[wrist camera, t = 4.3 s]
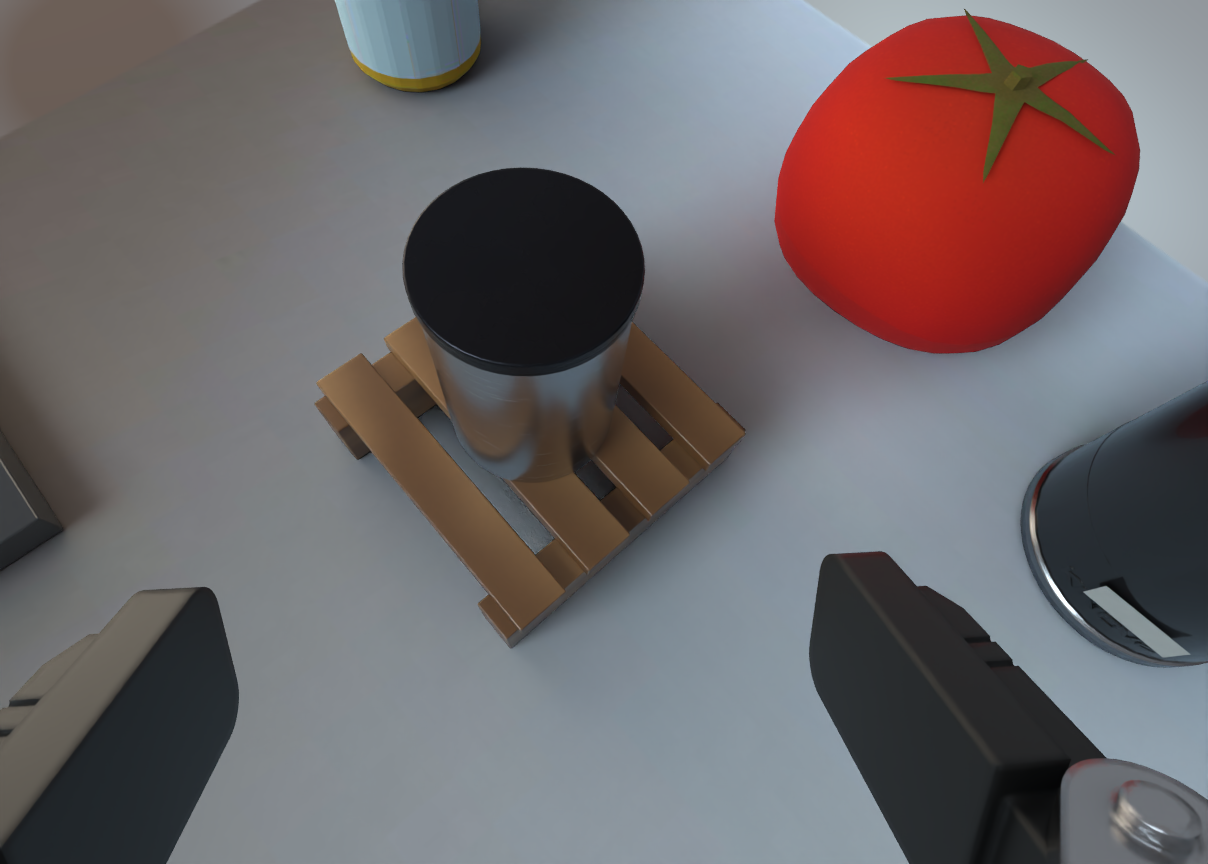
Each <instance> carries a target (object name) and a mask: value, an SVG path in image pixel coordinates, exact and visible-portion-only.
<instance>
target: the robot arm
mask: <svg viewBox="0 0 1208 864" xmlns="http://www.w3.org/2000/svg"><path fill="white" fill-rule="evenodd" d="M1021 534H1022V541H1023V546H1024V551H1025V555H1026V558H1027V561H1028V564H1029V566H1030V569H1031V571H1032V573H1033V576H1034V578H1035V579H1036V581H1037V583H1038V585H1039V587H1040V589H1041V590H1042V592H1043V593H1044V595H1045V596H1046V598H1047V599H1048V601H1049V602H1050V603H1051V605H1052V606H1053V607H1054V609H1055V610H1056V611H1057V612H1058V613H1059V614H1060V616H1061V617H1062V618H1063V619H1064V620H1065V621H1066V622H1067V623H1068V624H1069V625H1070V626H1071V627H1072V628H1074V629H1075V630H1076V631H1077V632H1078V633H1079V634H1081V635H1082V636H1083V637H1085V638H1086V639H1087V640H1089V641H1090V642H1091V643H1093V644H1095V645H1096V646H1098V647H1099V648H1101V649H1103V650H1105V651H1106V652H1108V653H1110V654H1112V655H1114V656H1117V657H1119V658H1122V659H1124V660H1127V661H1130V662H1133V663H1136V664H1141V665H1145V666H1151V667H1163V668H1171V667H1182V666H1192V665H1199V664H1203V663H1208V381H1207V382H1205V383H1203V384H1201V385H1199V386H1197V387H1195V388H1193V389H1191V390H1189V391H1188V392H1186V393H1184V394H1182V395H1180V396H1178V397H1176V398H1174V399H1172V400H1170V401H1168V402H1167V403H1165V404H1163V405H1161V406H1159V407H1157V408H1155V409H1153V410H1151V411H1149V412H1148V413H1146V414H1144V415H1142V416H1140V417H1138V418H1136V419H1134V420H1132V421H1130V422H1128V423H1126V424H1124V425H1122V426H1120V427H1118V428H1116V429H1114V430H1113V431H1111V432H1109V433H1107V434H1105V435H1103V436H1101V437H1099V438H1097V439H1096V440H1094V441H1092V442H1090V443H1088V444H1085V445H1081V446H1078V447H1076V448H1074V449H1071V450H1069V451H1067V452H1065V453H1064V454H1062V455H1060V456H1058V457H1056V458H1055V459H1053V460H1051V461H1050V462H1049V463H1047V464H1046V465H1045V466H1044V467H1043V468H1042V469H1041V470H1040V471H1039V472H1038V473H1037V474H1036V476H1035V477H1034V478H1033V480H1032V482H1031V483H1030V485H1029V487H1028V490H1027V492H1026V494H1025V498H1024V501H1023V506H1022V512H1021ZM809 658H810V668H811V673H812V677H813V681H814V684H815V687H816V690H817V692H818V694H819V696H820V698H821V700H822V702H823V704H824V706H825V707H826V709H827V711H828V713H829V715H830V717H831V719H832V721H833V722H834V724H835V726H836V728H837V730H838V732H839V734H840V735H841V737H842V739H843V741H844V743H845V745H846V747H847V748H848V750H849V752H850V754H851V756H852V758H853V760H854V762H855V763H856V765H857V767H858V769H859V771H860V773H861V775H862V776H863V778H864V780H865V782H866V784H867V786H868V788H869V789H870V791H871V793H872V795H873V797H874V799H875V801H876V802H877V804H878V806H879V808H880V810H881V812H882V814H883V816H884V817H885V819H886V821H887V823H888V825H889V827H890V829H891V830H892V832H893V834H894V836H895V838H896V840H897V842H898V843H899V845H900V847H901V849H902V851H903V853H904V855H905V857H906V858H907V860H908V862H909V864H1208V800H1207V799H1205V798H1204V797H1203V796H1201V795H1200V794H1198V793H1197V792H1195V791H1194V790H1192V789H1191V788H1189V787H1187V786H1186V785H1184V784H1182V783H1181V782H1179V781H1177V780H1175V779H1173V778H1171V777H1169V776H1167V775H1165V774H1163V773H1160V772H1158V771H1155V770H1153V769H1150V768H1148V767H1145V766H1142V765H1138V764H1135V763H1132V762H1127V761H1122V760H1117V759H1107V758H1106V757H1105V756H1104V755H1103V754H1102V753H1101V752H1100V751H1099V750H1098V749H1097V748H1096V747H1095V745H1094V744H1093V743H1092V742H1091V741H1090V740H1089V739H1088V738H1087V737H1086V736H1085V735H1084V734H1083V733H1082V732H1081V731H1080V730H1079V729H1078V728H1077V727H1076V726H1075V725H1074V724H1073V722H1072V721H1071V720H1070V719H1069V718H1068V717H1067V716H1066V715H1065V714H1064V713H1063V712H1062V711H1061V710H1060V709H1059V708H1058V707H1057V706H1056V705H1055V704H1054V703H1053V702H1052V700H1051V699H1050V698H1049V697H1048V696H1047V695H1046V694H1045V693H1044V692H1043V691H1042V690H1041V689H1040V688H1039V687H1038V686H1037V685H1036V684H1035V683H1034V682H1033V681H1032V680H1031V679H1030V677H1029V676H1028V675H1027V674H1026V673H1025V672H1024V671H1023V670H1022V669H1021V668H1020V667H1019V666H1014V665H1013V662H1012V659H1011V658H1010V657H1009V655H1008V654H1007V653H1006V652H1005V651H1004V650H1003V649H1002V648H1001V647H1000V646H999V645H998V644H997V643H996V642H991V640H990V636H989V635H988V633H987V632H986V631H985V630H984V629H983V628H982V627H981V626H980V625H979V624H978V623H977V622H976V621H975V620H974V619H973V618H972V617H971V616H970V615H969V614H968V613H967V612H966V610H965V609H964V608H962V607H960V606H959V605H957V604H956V603H954V602H952V601H951V600H949V599H947V598H946V597H944V596H942V595H941V594H939V593H937V592H936V591H934V590H932V589H931V588H929V587H928V586H916V585H915V584H914V583H913V581H912V580H911V579H910V578H909V577H908V576H907V575H906V574H905V573H904V571H903V570H902V569H901V568H900V567H899V566H898V565H897V564H896V562H895V561H894V560H893V559H892V558H891V557H890V556H889V555H888V554H886V553H885V552H881V551H879V552H861V553H843V554H829V555H827V556H826V557H825V558H824V559H823V561H822V564H821V568H820V574H819V581H818V588H817V595H816V602H815V610H814V617H813V624H812V631H811V638H810V647H809ZM9 702H10V704H9V707H8V708H2V709H1V710H0V864H166V863H167V861H168V859H169V857H170V855H171V853H172V851H173V849H174V847H175V845H176V843H177V841H178V839H179V837H180V835H181V833H182V831H183V829H184V827H185V825H186V823H187V821H188V819H189V817H190V815H191V813H192V812H193V810H194V808H195V806H196V804H197V802H198V800H199V798H200V796H201V794H202V792H203V790H204V788H205V786H206V784H207V782H208V780H209V778H210V776H211V774H212V772H213V770H214V768H215V766H216V764H217V762H218V760H219V758H220V756H221V754H222V752H223V750H224V748H225V746H226V744H227V742H228V740H229V739H230V736H231V734H232V732H233V729H234V726H235V722H236V718H237V713H238V704H239V689H238V682H237V678H236V674H235V670H234V665H233V661H232V657H231V653H230V649H229V645H228V641H227V637H226V633H225V629H224V625H223V621H222V617H221V613H220V609H219V605H218V601H217V598H216V596H215V594H214V593H213V591H212V590H210V589H209V588H207V587H195V588H176V589H158V590H142V591H139V592H137V593H136V594H134V595H133V596H132V597H131V598H130V599H129V600H128V601H127V603H126V604H125V605H124V606H123V607H122V608H121V609H120V610H119V612H118V613H117V614H116V615H115V616H114V617H113V618H112V619H111V621H110V622H109V623H108V624H107V625H106V626H105V627H104V628H103V630H102V631H101V632H100V633H99V634H90V635H88V636H86V637H85V638H83V639H82V640H80V641H79V642H77V643H75V644H74V645H72V646H71V647H69V648H68V649H66V650H65V651H63V652H62V653H60V654H59V655H57V656H56V657H54V658H53V659H51V660H50V661H48V662H47V663H45V664H44V665H42V667H41V668H40V669H39V670H38V671H37V672H36V673H35V674H34V675H33V676H32V677H31V678H30V679H29V680H28V681H27V682H26V683H25V685H24V686H23V687H22V688H21V689H20V690H19V691H18V692H17V693H16V694H15V695H14V696H13V697H12V698H11V699H10V700H9Z"/></svg>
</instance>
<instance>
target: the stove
mask: <svg viewBox="0 0 1208 864" xmlns="http://www.w3.org/2000/svg"><path fill="white" fill-rule="evenodd" d="M61 530H63V527H62V525H61V524H60V522H59V521H58V519H57V518H56V516H55V515H54V513H53V511H52V510H51V508H50V507H49V505H48V504H47V502H46V501H45V499H44V497H43V496H42V494H41V493H40V491H39V490H38V488H37V487H36V485H35V484H34V482H33V480H32V479H31V477H30V476H29V474H28V473H27V471H26V470H25V468H24V466H23V465H22V463H21V462H20V460H19V459H18V457H17V456H16V454H15V452H14V451H13V449H12V448H11V446H10V445H9V443H8V442H7V440H6V438H5V437H4V435H3V434H2V432H1V431H0V570H1V569H3V568H4V567H6V566H7V565H9V564H11V563H12V562H14V561H15V560H17V559H18V558H20V557H21V556H23V555H24V554H26V553H28V552H29V551H31V550H32V549H34V548H35V547H37V546H38V545H40V544H41V543H43V542H44V541H46V540H48V539H49V538H51V537H52V536H54V535H55V534H57V533H58V532H60V531H61Z"/></svg>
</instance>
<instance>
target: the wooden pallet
mask: <svg viewBox="0 0 1208 864" xmlns="http://www.w3.org/2000/svg"><path fill="white" fill-rule="evenodd" d="M384 340H385V342H386V345H387V347H388V349H389V350H390V351H391V352H390V353H389V354H387V355H386V356H384V357H383V358H381V359H380V360H378V361H377V362H375V363H374V364H372V365H371V364H370V362H369V361H368V360H367V359H366V358H365V357H364V355H363V354H359V355H357V356H356V357H354V358H353V359H351V360H350V361H348V362H347V363H345V364H343V365H342V366H340V367H339V368H337V369H336V370H334V371H333V372H331V373H330V374H328V375H327V376H325V377H324V378H322V379H321V380H319V381H318V382H317V385H318V387H319V388H320V389H321V391H322V392H323V394H324V395H325V396H324V397H323V398H321V399H320V400H318V401H317V402H315V406H316V407H317V408H318V410H319V411H320V413H321V414H322V415H323V417H324V418H325V419H326V421H327V422H328V424H329V425H330V426H331V428H332V429H333V430H334V432H335V433H336V435H337V436H338V437H339V438H340V439H341V441H342V442H343V443H344V444H345V446H346V447H347V448H348V449H349V451H350V452H351V453H352V454H353V455H354V457H355V458H356V459H360V458H361V457H363V456H364V455H365V454H367V453H368V452H370V451H371V452H372V453H373V454H374V456H375V457H376V458H377V459H378V460H379V462H380V463H381V464H382V465H383V466H384V468H385V469H386V470H387V471H388V473H389V474H390V475H391V476H392V477H393V479H394V480H395V481H396V482H397V484H398V485H399V486H400V487H401V488H402V490H403V491H404V492H405V493H406V494H407V496H408V497H409V498H410V499H411V501H412V502H413V503H414V504H415V505H416V507H417V508H418V509H419V510H420V511H421V513H422V514H423V515H424V516H425V518H426V519H427V520H428V521H429V522H430V524H431V525H432V526H433V527H434V528H435V530H436V531H437V532H438V533H439V535H440V536H441V537H442V538H443V539H444V541H445V542H446V543H447V544H448V545H449V547H450V548H451V549H452V550H453V552H454V553H455V554H456V555H457V556H458V558H459V559H460V560H461V561H462V562H463V564H464V565H465V566H466V567H467V569H468V570H469V571H470V572H471V573H472V575H473V576H474V577H475V578H476V579H477V581H478V582H479V583H480V584H481V586H482V587H483V588H484V589H485V590H486V592H487V593H488V594H489V595H487V596H486V597H485V598H484V599H483V600H481V601H480V602H479V603H478V606H479V608H480V609H481V611H482V613H483V615H484V616H485V618H486V619H487V620H488V622H489V623H490V624H491V625H492V627H493V628H494V629H495V630H496V631H497V633H498V634H499V635H500V636H501V638H502V639H503V640H504V641H505V643H506V644H507V645H508V646H509V647H510V648H512V647H514V646H515V645H516V644H517V643H518V642H519V641H520V640H522V639H523V638H524V637H525V636H526V635H527V634H528V633H529V632H531V631H532V630H533V629H534V628H535V627H536V626H537V625H539V624H540V623H541V622H542V621H543V620H544V619H545V618H546V617H548V616H549V615H550V614H551V613H552V612H553V611H554V610H556V609H557V608H558V607H559V606H560V605H561V604H562V603H563V602H565V601H566V600H567V599H568V598H569V597H570V596H571V595H573V594H574V593H575V592H576V591H577V590H578V589H579V588H580V587H582V586H583V585H584V584H585V583H586V582H587V581H588V580H590V579H591V578H592V577H593V576H594V575H595V574H596V573H597V572H599V571H600V570H601V569H602V568H603V567H604V566H605V565H606V564H608V563H609V562H610V561H611V560H612V559H613V558H614V557H616V556H617V555H618V554H619V553H620V552H621V551H622V550H623V549H625V548H626V547H627V546H628V545H629V544H630V543H631V542H633V541H634V540H635V539H636V538H637V537H638V536H639V535H640V534H642V533H643V532H644V531H645V530H646V529H647V528H648V527H650V526H651V525H652V524H653V523H654V522H655V521H656V520H657V519H659V518H660V517H661V516H662V515H663V514H664V513H665V512H667V511H668V510H669V509H670V508H671V507H672V506H673V505H674V504H676V503H677V502H678V501H679V500H680V499H681V498H682V497H684V496H685V495H686V494H687V493H688V492H689V491H690V490H691V489H693V488H694V487H695V486H696V485H697V484H698V483H699V482H700V481H702V480H703V479H704V478H705V477H706V476H707V475H708V474H710V473H711V472H712V471H713V470H714V469H715V468H716V467H717V466H719V465H720V464H721V463H722V462H723V461H724V460H725V459H727V458H728V456H729V455H730V453H731V452H732V450H733V449H734V447H735V446H736V445H737V444H738V443H739V442H741V440H742V439H743V437H744V436H745V434H746V433H745V429H744V428H743V427H742V426H741V425H740V424H739V423H738V422H737V421H736V420H735V419H734V418H733V417H732V416H731V415H730V414H729V413H728V412H727V411H726V410H725V409H724V408H723V407H722V406H721V405H720V404H719V403H715V402H714V401H713V400H712V399H710V398H709V397H708V396H707V395H706V394H705V393H704V392H703V391H702V390H701V389H700V388H699V387H698V386H697V385H696V384H695V383H694V382H693V381H692V380H691V379H690V378H689V377H688V376H687V375H686V374H685V373H684V372H683V371H682V370H681V369H680V368H679V367H678V366H677V365H676V364H675V363H674V362H673V361H672V360H671V359H670V358H669V357H668V356H667V355H666V354H665V353H664V352H663V351H662V350H661V349H659V348H658V347H657V346H656V345H655V344H654V343H653V342H652V341H651V340H650V339H649V338H648V337H647V336H646V335H645V334H644V333H643V332H642V331H641V330H640V329H639V328H638V327H637V326H636V325H635V324H634V323H633V322H632V324H631V329H630V334H629V338H628V343H627V348H626V353H625V358H624V363H623V368H622V373H621V378H620V383H619V384H620V385H621V386H622V387H623V388H624V389H625V390H626V391H627V392H628V393H629V394H630V395H631V396H632V397H633V398H634V399H635V400H636V401H637V402H638V403H639V404H640V405H641V406H642V407H643V408H644V409H645V410H646V411H647V412H648V413H649V414H650V415H651V416H652V417H653V418H654V419H655V420H656V421H657V422H658V423H659V424H660V426H661V427H662V428H663V429H664V430H665V431H666V432H667V433H668V434H669V435H670V436H671V437H672V438H673V440H672V441H671V442H669V443H668V444H667V445H666V446H665V447H663V448H662V449H661V450H659V449H658V448H657V447H656V446H655V445H654V444H653V443H652V442H651V441H650V440H649V439H648V438H647V437H646V436H645V435H644V434H643V433H642V432H641V431H640V430H639V428H638V427H637V426H636V425H635V424H634V423H633V422H632V421H631V420H630V419H629V418H628V417H627V416H626V415H625V414H624V413H623V412H622V411H621V410H620V409H619V408H618V407H617V406H616V405H615V407H614V412H613V417H612V422H611V426H610V430H609V433H608V435H607V437H606V440H605V442H604V443H603V445H602V446H601V448H600V450H599V451H598V452H597V453H596V454H595V456H594V457H593V458H592V459H591V460H592V461H593V462H594V463H595V464H596V465H597V467H598V468H599V469H600V470H601V471H602V472H603V473H604V474H605V475H606V476H607V477H608V478H609V479H610V481H611V482H612V483H613V484H614V485H615V486H616V488H615V489H613V490H612V491H611V492H610V493H609V494H608V495H606V496H605V497H604V498H603V499H602V500H599V499H598V498H597V497H596V496H595V495H594V494H593V493H592V492H591V491H590V489H589V488H588V487H587V486H586V485H585V484H584V483H583V482H582V481H581V480H580V479H579V477H578V476H577V475H576V474H575V473H574V472H573V473H571V474H569V475H567V476H564V477H562V478H559V479H556V480H552V481H547V482H539V483H524V482H516V481H512V480H508V479H504V478H502V479H503V480H504V481H505V482H506V483H507V484H508V486H509V487H510V488H511V489H512V490H513V491H514V492H515V494H516V495H517V496H518V497H519V498H520V499H521V500H522V502H523V503H524V504H525V505H526V506H527V507H528V508H529V510H530V511H531V512H532V513H533V514H534V515H535V516H536V518H537V519H538V520H539V521H540V522H541V523H542V524H543V526H544V527H545V528H546V529H547V530H548V531H549V532H550V534H551V535H552V536H553V537H554V538H555V539H554V540H553V541H552V542H550V543H549V544H548V545H547V546H546V547H544V548H543V549H542V550H541V551H540V552H539V553H537V554H536V555H535V554H534V553H533V552H532V551H531V549H530V548H529V547H528V546H527V545H526V544H525V542H524V541H523V540H522V539H521V538H520V537H519V535H518V534H517V533H516V532H515V531H514V530H513V529H512V527H511V526H510V525H509V524H508V523H507V522H506V520H505V519H504V518H503V517H502V516H501V515H500V513H499V512H498V511H497V510H496V509H495V508H494V506H493V505H492V504H491V503H490V502H489V501H488V499H487V498H486V497H485V496H484V495H483V494H482V492H481V491H480V490H479V489H478V488H477V487H476V486H475V484H474V483H473V482H472V481H471V480H470V479H469V477H468V476H467V475H466V474H465V473H464V472H463V470H462V469H461V468H460V467H459V466H458V465H457V463H456V462H455V461H454V460H453V459H452V458H451V456H450V455H449V454H448V453H447V452H446V451H445V449H444V448H443V447H442V446H441V445H440V444H439V443H438V441H437V440H436V439H435V438H434V437H433V436H432V434H431V433H430V432H429V431H428V430H427V429H426V427H425V426H424V425H423V424H422V423H421V422H420V420H419V419H418V418H417V417H419V416H420V415H421V414H423V413H424V412H426V411H427V410H429V409H430V408H431V407H433V406H434V405H436V404H437V405H438V406H439V407H440V408H441V409H442V410H443V411H444V413H445V414H446V415H447V416H448V417H449V418H450V419H451V417H450V414H449V411H448V408H447V405H446V402H445V399H444V395H443V392H442V389H441V386H440V383H439V380H438V377H437V374H436V370H435V367H434V364H433V361H432V358H431V355H430V352H429V348H428V345H427V342H426V339H425V336H424V333H423V330H422V326H421V325H420V323H419V321H418V320H417V318H416V317H415V318H414V319H412V320H410V321H409V322H407V323H406V324H404V325H403V326H401V327H400V328H398V329H397V330H395V331H394V332H392V333H391V334H389V335H388V336H386V337H385V338H384Z"/></svg>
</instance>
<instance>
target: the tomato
mask: <svg viewBox="0 0 1208 864" xmlns="http://www.w3.org/2000/svg"><path fill="white" fill-rule="evenodd" d="M964 10H965V9H964ZM965 12H966V16H955V17H944V18H933V19H926V20H923V21H920V22H918V23H915V24H912V25H909V26H907V27H905V28H903V29H901V30H900V31H898V32H896V33H894V34H892V35H890V36H889V37H887V38H886V39H884V40H882V41H881V42H879V43H878V44H876V45H875V46H873V47H871V48H870V49H868V50H867V51H865V52H864V53H863V54H861V55H860V56H859V57H857V58H856V59H855V60H853V61H852V62H851V63H849V64H848V65H847V67H846V68H845V69H844V70H843V71H842V72H841V73H840V74H839V75H838V76H837V77H836V79H835V80H834V81H833V82H832V83H831V84H830V85H829V86H828V87H827V89H826V90H825V91H824V92H823V93H822V95H821V96H820V97H819V98H818V99H817V101H816V102H815V103H814V104H813V105H812V107H811V109H810V110H809V112H808V114H807V115H806V117H805V119H804V120H803V122H802V123H801V125H800V127H799V128H798V130H797V132H796V134H795V136H794V138H793V140H792V142H791V144H790V146H789V148H788V150H787V152H786V154H785V157H784V161H783V164H782V168H781V171H780V174H779V179H778V189H777V199H776V210H775V226H776V230H777V235H778V239H779V244H780V247H781V249H782V252H783V255H784V258H785V259H786V261H787V262H788V264H789V265H790V267H791V268H792V270H793V271H794V273H795V274H796V276H797V277H798V278H799V279H800V280H801V281H802V282H803V283H804V285H805V286H806V287H807V288H808V289H809V290H810V291H811V292H812V293H813V294H814V295H815V296H817V297H818V298H819V299H820V300H822V301H823V302H824V303H825V304H827V305H828V306H829V307H830V308H832V309H833V310H834V311H835V312H837V313H838V314H840V315H841V316H843V317H845V318H846V319H848V320H849V321H850V322H852V323H853V324H855V325H856V326H858V327H860V328H862V329H864V330H866V331H867V332H869V333H871V334H873V335H875V336H877V337H879V338H881V339H883V340H886V341H888V342H891V343H894V344H896V345H899V346H902V347H905V348H907V349H912V350H917V351H923V352H929V353H965V352H976V351H980V350H983V349H986V348H989V347H993V346H996V345H999V344H1001V343H1003V342H1004V341H1006V340H1008V339H1010V338H1011V337H1013V336H1015V335H1016V334H1018V333H1020V332H1021V331H1023V330H1025V329H1026V328H1028V327H1029V326H1031V325H1033V324H1034V323H1036V322H1037V321H1039V320H1040V319H1042V318H1043V317H1044V316H1045V315H1046V314H1047V313H1048V312H1049V311H1050V310H1051V309H1052V308H1053V307H1054V306H1055V305H1056V304H1057V303H1058V302H1059V301H1060V300H1061V299H1062V298H1063V297H1064V296H1065V295H1066V294H1067V293H1068V292H1069V291H1070V290H1071V288H1072V287H1073V286H1074V285H1075V284H1076V283H1077V282H1078V281H1079V280H1080V279H1081V277H1082V276H1083V275H1084V274H1085V273H1086V272H1087V270H1088V269H1089V268H1090V267H1091V266H1092V265H1093V264H1094V262H1095V261H1096V260H1097V259H1098V257H1099V256H1100V254H1101V252H1102V251H1103V249H1104V248H1105V246H1106V245H1107V243H1108V242H1109V240H1110V238H1111V237H1112V235H1113V233H1114V232H1115V230H1116V228H1117V227H1118V225H1119V223H1120V222H1121V220H1122V218H1123V216H1124V215H1125V212H1126V209H1127V207H1128V203H1129V201H1130V198H1131V195H1132V192H1133V189H1134V185H1135V182H1136V178H1137V174H1138V171H1139V160H1140V148H1139V143H1138V138H1137V133H1136V128H1135V123H1134V118H1133V113H1132V111H1131V109H1130V107H1129V105H1128V103H1127V101H1126V99H1125V97H1124V96H1123V95H1122V93H1121V92H1120V91H1119V90H1118V89H1117V88H1116V87H1115V86H1114V85H1113V84H1112V83H1111V81H1110V80H1108V79H1107V78H1106V77H1105V76H1104V75H1102V74H1101V73H1100V72H1099V71H1098V70H1097V69H1095V68H1094V67H1093V66H1092V65H1090V64H1089V63H1087V62H1086V61H1087V60H1083V59H1082V58H1081V57H1079V56H1078V55H1076V54H1075V53H1073V52H1072V51H1070V50H1068V49H1066V48H1064V47H1063V46H1061V45H1059V44H1057V43H1056V42H1054V41H1052V40H1050V39H1047V38H1045V37H1042V36H1040V35H1038V34H1036V33H1033V32H1031V31H1028V30H1026V29H1023V28H1020V27H1017V26H1015V25H1012V24H1009V23H1005V22H1002V21H997V20H994V19H991V18H985V17H977V16H971V15H970V14H969V13H968V12H967V11H966V10H965Z"/></svg>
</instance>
